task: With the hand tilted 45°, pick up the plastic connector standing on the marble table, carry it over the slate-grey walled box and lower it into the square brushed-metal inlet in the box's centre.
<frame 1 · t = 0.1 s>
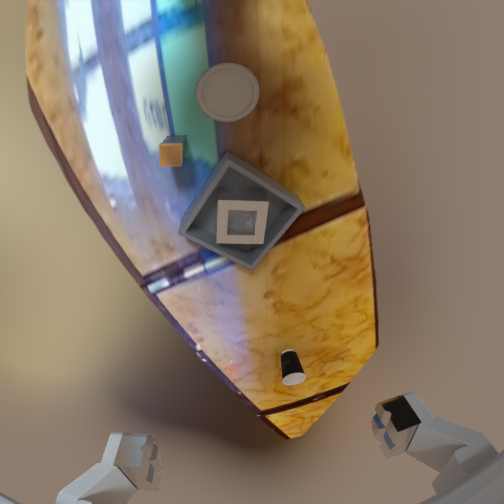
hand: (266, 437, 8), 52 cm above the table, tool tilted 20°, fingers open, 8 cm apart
inlet socket: (240, 215, 57), in the walled box, point 4 cm above the table
connector: (176, 144, 51), on the table
walled box: (239, 206, 61), on the table
disposable coffee cup: (225, 89, 46), on the table
dixie cup: (287, 352, 94), on the table
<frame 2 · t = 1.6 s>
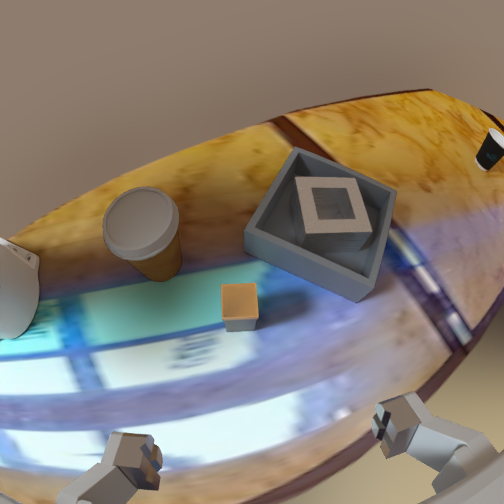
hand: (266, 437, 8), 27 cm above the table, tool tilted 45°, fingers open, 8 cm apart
inlet socket: (327, 215, 41), in the walled box, point 4 cm above the table
connector: (239, 318, 38), on the table
walled box: (321, 229, 44), on the table
disposable coffee cup: (161, 262, 41), on the table
dixie cup: (480, 165, 56), on the table
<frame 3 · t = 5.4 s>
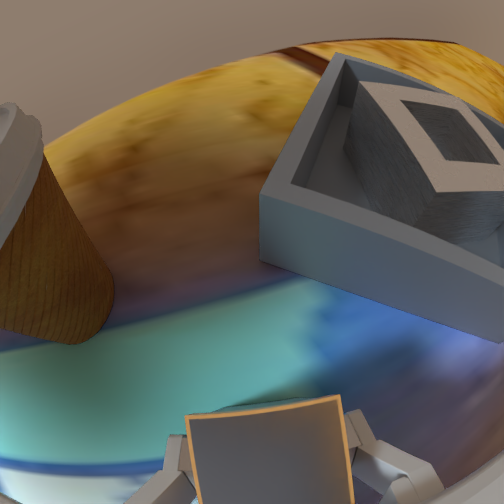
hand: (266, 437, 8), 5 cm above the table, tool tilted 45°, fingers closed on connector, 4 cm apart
inlet socket: (435, 163, 15), in the walled box, point 4 cm above the table
connector: (265, 435, 12), on the table, touching gripper
walled box: (413, 199, 19), on the table
disposable coffee cup: (76, 298, 16), on the table
when the fingers open (9 cm above the table, at t = 10.6 s): connector drops 1 cm, resting on inlet socket.
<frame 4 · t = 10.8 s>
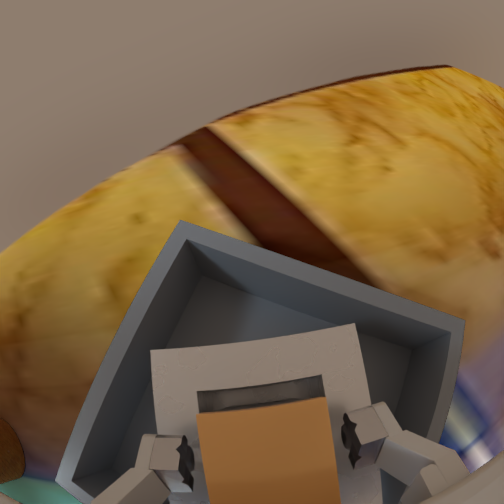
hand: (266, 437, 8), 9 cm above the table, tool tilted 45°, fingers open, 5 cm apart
inlet socket: (266, 434, 13), in the walled box, point 4 cm above the table
connector: (264, 432, 13), point 3 cm above the table, touching inlet socket
walled box: (264, 426, 16), on the table
disposable coffee cup: (6, 448, 13), on the table
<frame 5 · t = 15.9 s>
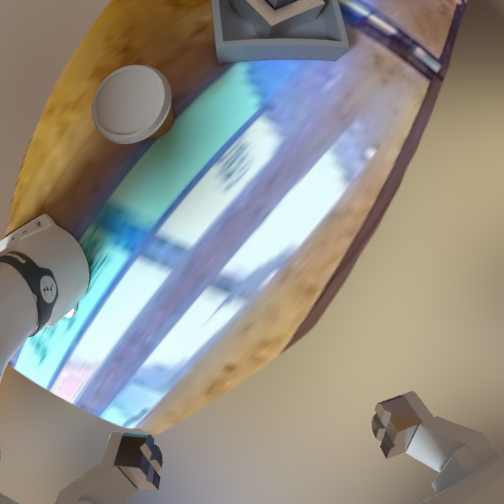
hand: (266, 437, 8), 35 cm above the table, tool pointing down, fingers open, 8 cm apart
inlet socket: (274, 2, 29), in the walled box, point 4 cm above the table
connector: (273, 5, 30), point 3 cm above the table, touching inlet socket
walled box: (271, 14, 33), on the table
disposable coffee cup: (154, 118, 37), on the table
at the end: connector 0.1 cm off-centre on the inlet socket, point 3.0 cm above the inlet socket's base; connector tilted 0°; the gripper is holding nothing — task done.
